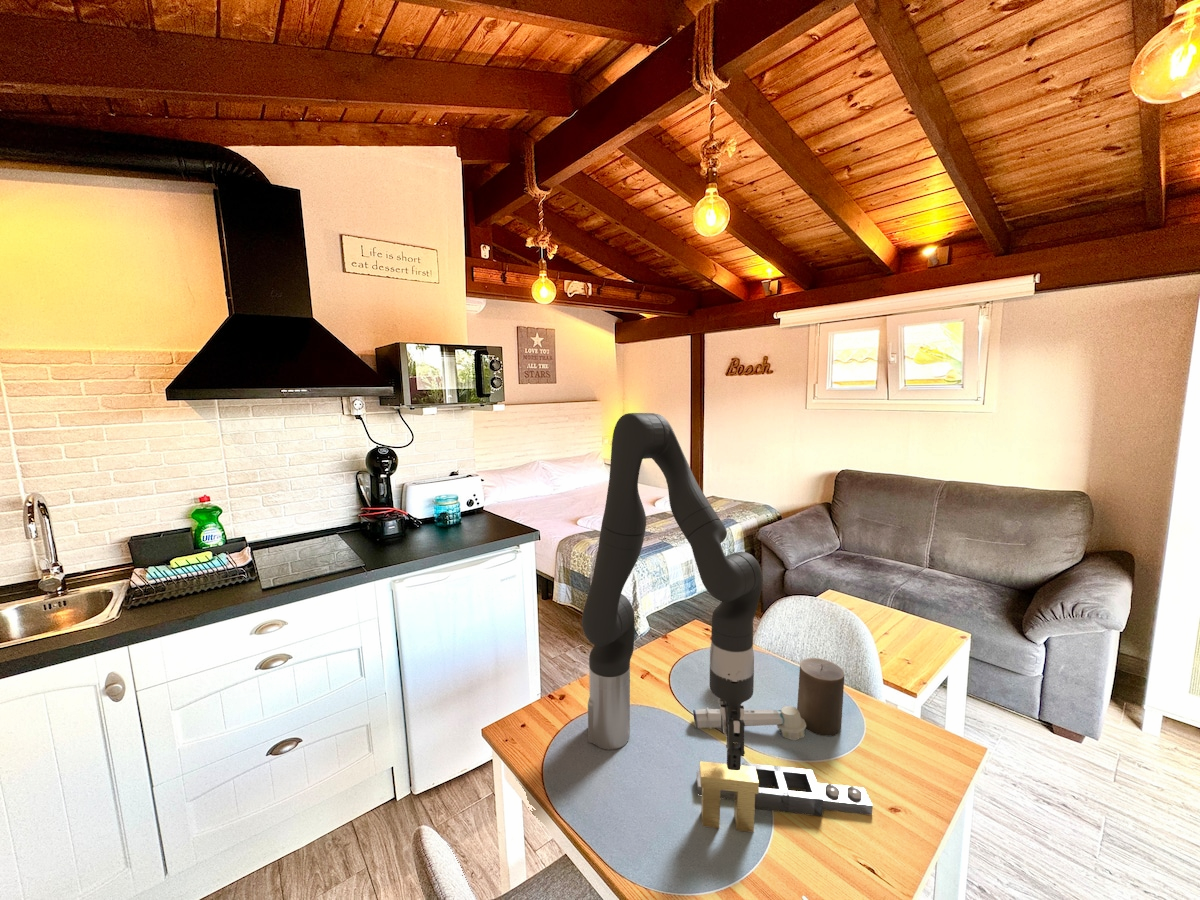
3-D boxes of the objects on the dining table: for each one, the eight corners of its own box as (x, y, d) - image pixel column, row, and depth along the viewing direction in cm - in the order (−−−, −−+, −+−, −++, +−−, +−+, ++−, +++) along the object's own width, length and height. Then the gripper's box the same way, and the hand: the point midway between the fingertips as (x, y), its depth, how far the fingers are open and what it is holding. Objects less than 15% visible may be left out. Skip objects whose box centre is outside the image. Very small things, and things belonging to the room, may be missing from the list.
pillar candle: (836, 743, 106) (840, 680, 104) (791, 724, 112) (794, 665, 110) (844, 719, 114) (849, 661, 112) (802, 703, 120) (805, 647, 118)
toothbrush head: (692, 703, 114) (800, 698, 111) (695, 728, 115) (802, 724, 111) (693, 718, 109) (806, 713, 105) (697, 744, 110) (809, 740, 106)
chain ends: (698, 802, 91) (698, 786, 91) (696, 773, 98) (696, 758, 98) (875, 822, 87) (876, 805, 86) (860, 790, 94) (861, 774, 93)
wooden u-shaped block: (699, 827, 86) (701, 776, 85) (698, 810, 89) (699, 761, 88) (756, 834, 84) (758, 782, 83) (753, 816, 88) (755, 766, 87)
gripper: (706, 643, 91) (705, 721, 93) (713, 689, 77) (712, 780, 79) (746, 645, 90) (745, 724, 92) (761, 692, 76) (759, 784, 78)
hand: (730, 750), depth 85 cm, fingers open, 8 cm apart
